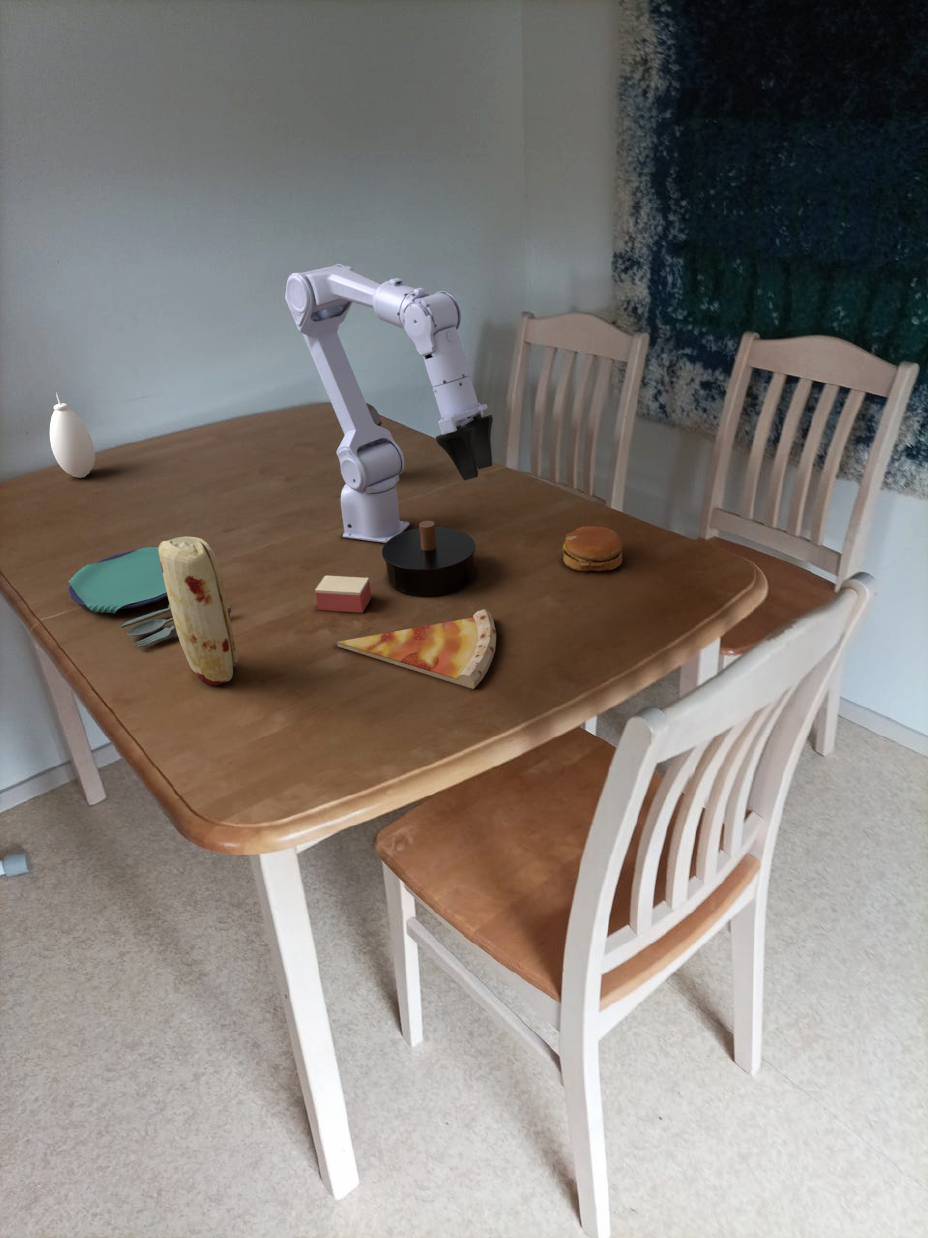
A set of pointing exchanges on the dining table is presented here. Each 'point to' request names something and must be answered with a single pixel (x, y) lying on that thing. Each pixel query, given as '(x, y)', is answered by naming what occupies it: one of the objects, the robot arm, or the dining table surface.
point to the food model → (199, 607)
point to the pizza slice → (437, 648)
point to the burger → (592, 549)
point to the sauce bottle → (71, 441)
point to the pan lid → (428, 549)
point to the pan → (431, 580)
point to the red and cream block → (343, 594)
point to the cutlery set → (126, 590)
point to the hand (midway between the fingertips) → (478, 472)
